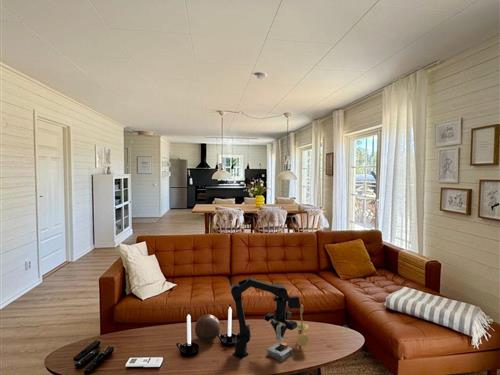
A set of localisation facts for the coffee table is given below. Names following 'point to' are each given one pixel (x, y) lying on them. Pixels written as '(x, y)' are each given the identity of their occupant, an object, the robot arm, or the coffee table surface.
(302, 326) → the wall sconce
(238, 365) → the coffee table surface
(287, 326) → the robot arm
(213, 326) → the wooden sphere
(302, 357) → the coffee table surface
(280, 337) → the wedge pin
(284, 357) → the rosette plate
